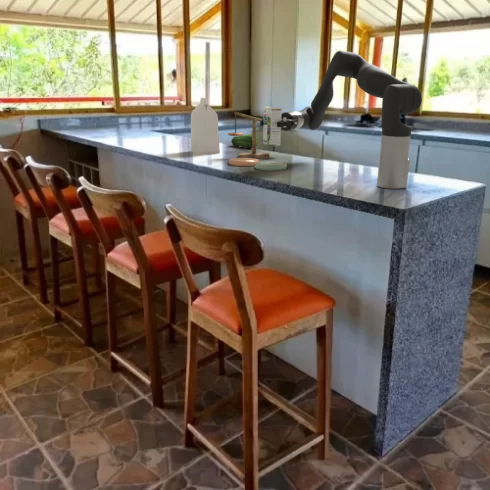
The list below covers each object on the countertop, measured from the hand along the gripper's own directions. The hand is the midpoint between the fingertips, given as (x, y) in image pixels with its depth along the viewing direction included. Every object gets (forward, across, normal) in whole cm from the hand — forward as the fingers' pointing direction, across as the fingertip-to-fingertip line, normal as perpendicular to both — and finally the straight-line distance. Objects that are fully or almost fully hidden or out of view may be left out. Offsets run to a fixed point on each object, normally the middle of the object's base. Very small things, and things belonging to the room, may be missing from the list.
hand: (269, 123), depth 189 cm
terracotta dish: (-3, -15, +18) cm, 23 cm away
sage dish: (-2, 0, +18) cm, 18 cm away
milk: (-18, -51, +18) cm, 57 cm away
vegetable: (-45, -48, +19) cm, 68 cm away
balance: (-21, -23, +18) cm, 36 cm away
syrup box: (-2, 0, +8) cm, 9 cm away
